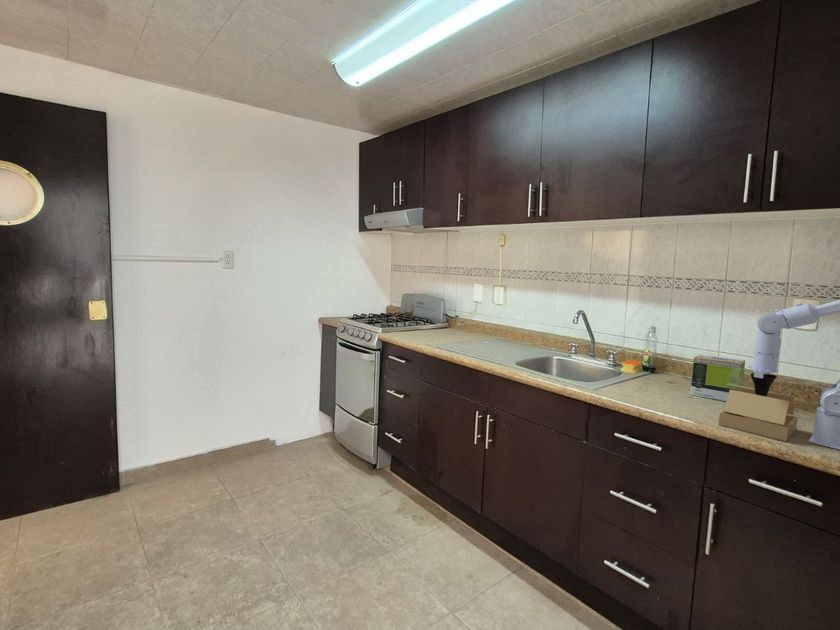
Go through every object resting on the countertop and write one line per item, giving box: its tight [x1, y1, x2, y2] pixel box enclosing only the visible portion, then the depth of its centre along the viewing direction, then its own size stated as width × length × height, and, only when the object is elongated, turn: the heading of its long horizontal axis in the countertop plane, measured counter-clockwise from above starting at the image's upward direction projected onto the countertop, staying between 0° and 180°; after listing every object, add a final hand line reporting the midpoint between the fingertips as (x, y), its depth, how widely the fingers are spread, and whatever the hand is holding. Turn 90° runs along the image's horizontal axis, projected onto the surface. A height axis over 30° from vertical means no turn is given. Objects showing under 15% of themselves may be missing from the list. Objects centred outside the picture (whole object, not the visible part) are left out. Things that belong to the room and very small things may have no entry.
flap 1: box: [723, 390, 789, 425], centre depth 128 cm, size 14×7×1 cm
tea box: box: [690, 354, 746, 402], centre depth 163 cm, size 15×10×15 cm, turn 48°
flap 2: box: [737, 386, 795, 416], centre depth 135 cm, size 14×7×1 cm
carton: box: [718, 408, 799, 443], centre depth 132 cm, size 16×15×4 cm
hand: (760, 398), depth 131 cm, fingers closed
